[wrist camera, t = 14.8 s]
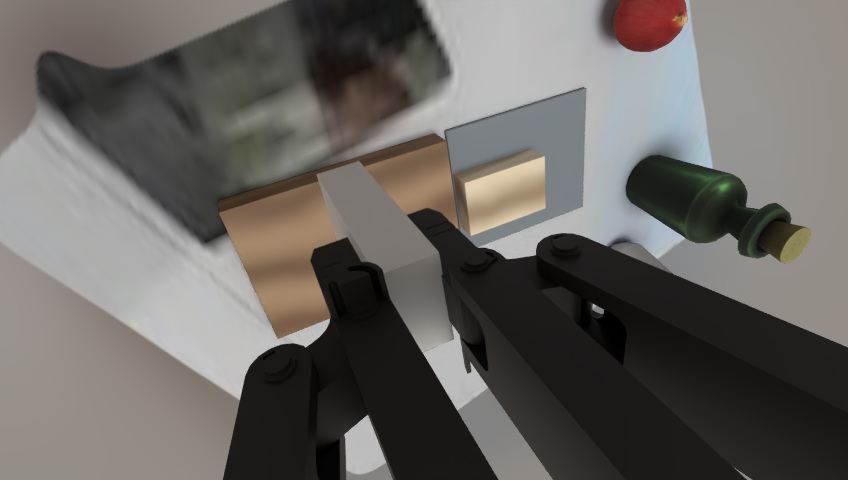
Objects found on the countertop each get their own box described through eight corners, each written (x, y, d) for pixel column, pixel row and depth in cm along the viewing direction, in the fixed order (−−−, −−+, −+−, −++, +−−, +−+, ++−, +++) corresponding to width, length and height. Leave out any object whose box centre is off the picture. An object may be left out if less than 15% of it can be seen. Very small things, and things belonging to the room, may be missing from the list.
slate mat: (444, 130, 43) (446, 131, 43) (583, 87, 47) (586, 88, 47) (461, 251, 51) (463, 252, 51) (580, 205, 55) (582, 206, 55)
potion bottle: (654, 211, 61) (795, 282, 46) (610, 207, 57) (748, 283, 43) (681, 152, 58) (842, 208, 43) (637, 143, 54) (796, 202, 39)
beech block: (453, 174, 45) (464, 183, 43) (530, 148, 48) (544, 156, 46) (459, 225, 49) (470, 235, 47) (531, 199, 51) (545, 208, 49)
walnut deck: (218, 200, 38) (218, 212, 36) (434, 133, 43) (446, 140, 41) (274, 323, 46) (277, 338, 44) (453, 254, 51) (463, 265, 49)
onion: (651, -2, 46) (725, 0, 39) (622, 56, 47) (688, 67, 41) (614, -30, 43) (687, -32, 36) (584, 33, 45) (649, 42, 38)
